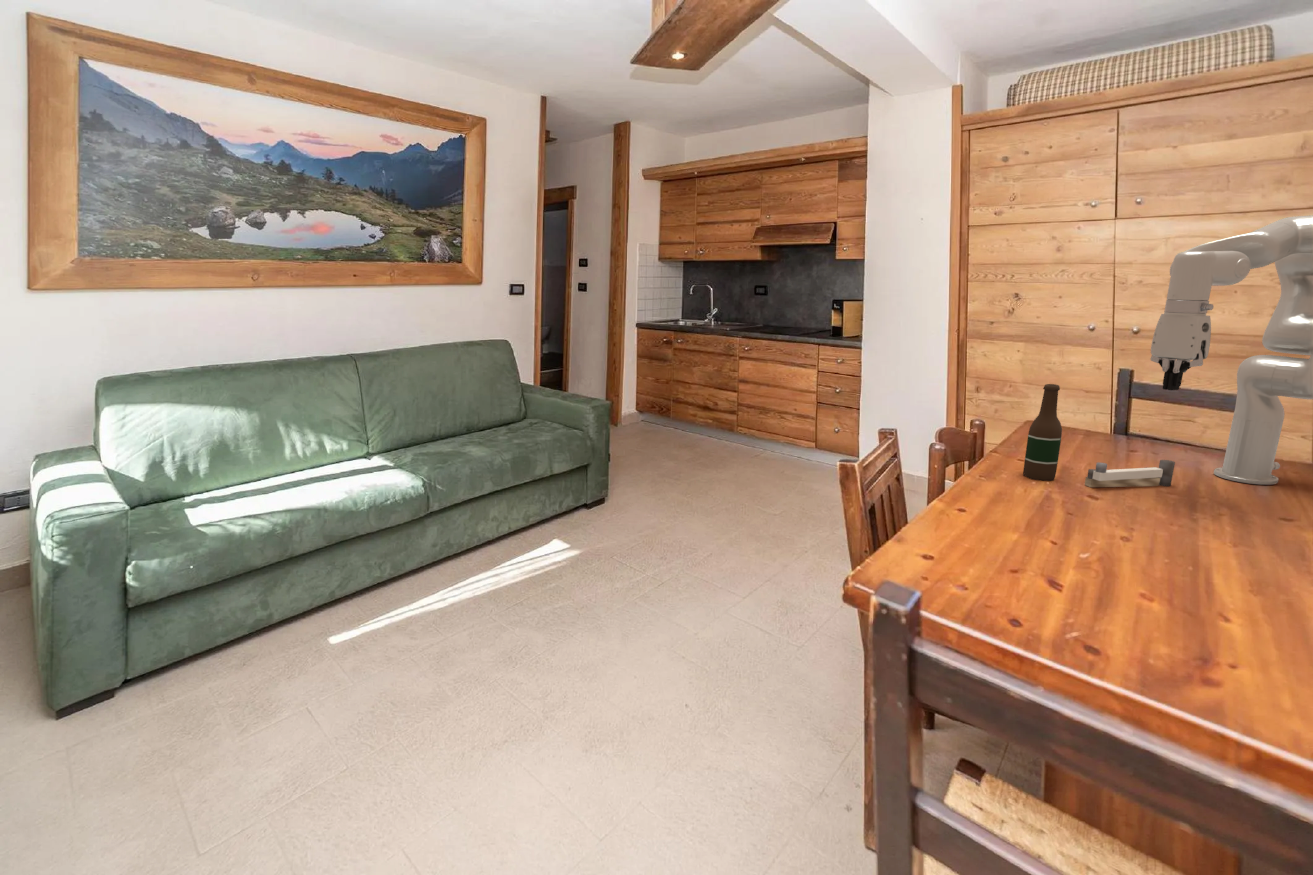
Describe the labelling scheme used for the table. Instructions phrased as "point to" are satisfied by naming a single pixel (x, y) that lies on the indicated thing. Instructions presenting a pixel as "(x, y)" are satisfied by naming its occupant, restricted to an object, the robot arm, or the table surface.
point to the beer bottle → (1044, 439)
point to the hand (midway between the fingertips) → (1170, 389)
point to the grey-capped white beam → (1162, 481)
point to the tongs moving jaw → (1124, 473)
